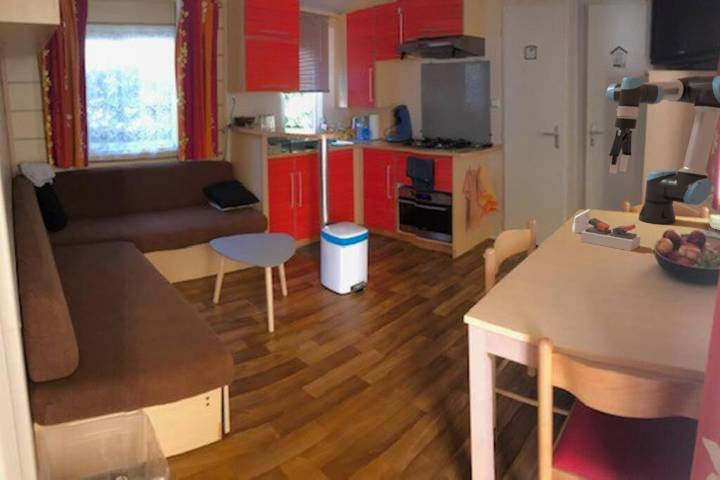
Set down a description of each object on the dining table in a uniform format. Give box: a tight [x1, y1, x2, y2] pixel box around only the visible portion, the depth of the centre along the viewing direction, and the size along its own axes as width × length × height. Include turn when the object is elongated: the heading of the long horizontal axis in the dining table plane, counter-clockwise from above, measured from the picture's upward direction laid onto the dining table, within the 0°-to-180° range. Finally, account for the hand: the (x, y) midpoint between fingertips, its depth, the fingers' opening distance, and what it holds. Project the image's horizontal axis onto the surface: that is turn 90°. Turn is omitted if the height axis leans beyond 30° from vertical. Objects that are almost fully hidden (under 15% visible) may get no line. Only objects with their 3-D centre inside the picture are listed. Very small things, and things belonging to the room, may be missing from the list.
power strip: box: [580, 226, 641, 252], centre depth 242 cm, size 9×20×5 cm, turn 45°
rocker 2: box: [611, 223, 636, 234], centre depth 237 cm, size 5×7×2 cm
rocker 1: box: [588, 217, 611, 231], centre depth 244 cm, size 5×7×2 cm
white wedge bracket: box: [571, 208, 591, 234], centre depth 260 cm, size 4×10×9 cm, turn 84°
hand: (617, 172), depth 240 cm, fingers open, 13 cm apart
